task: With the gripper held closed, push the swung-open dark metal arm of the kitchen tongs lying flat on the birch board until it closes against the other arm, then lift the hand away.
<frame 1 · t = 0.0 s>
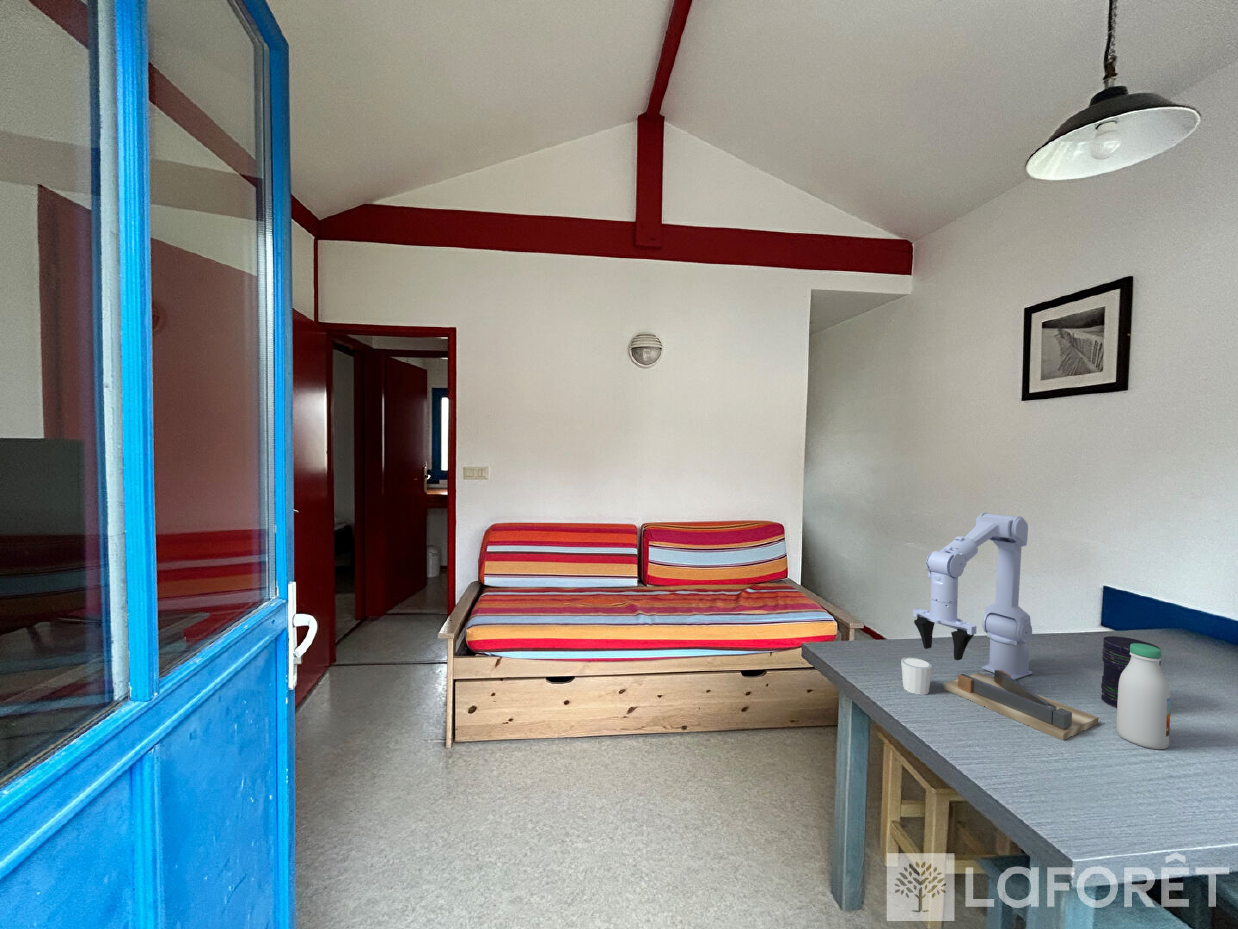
hand: (942, 653, 127), 10 cm above the table, tool pointing down, fingers open, 7 cm apart
storage jar: (1128, 706, 122), on the table
board: (1015, 705, 121), on the table
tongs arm: (1024, 693, 121), point 3 cm above the table, hinge at -30.0°
white cup: (915, 690, 129), on the table
milk bottle: (1141, 740, 107), on the table
tongs fixed arm: (1050, 726, 112), resting on board
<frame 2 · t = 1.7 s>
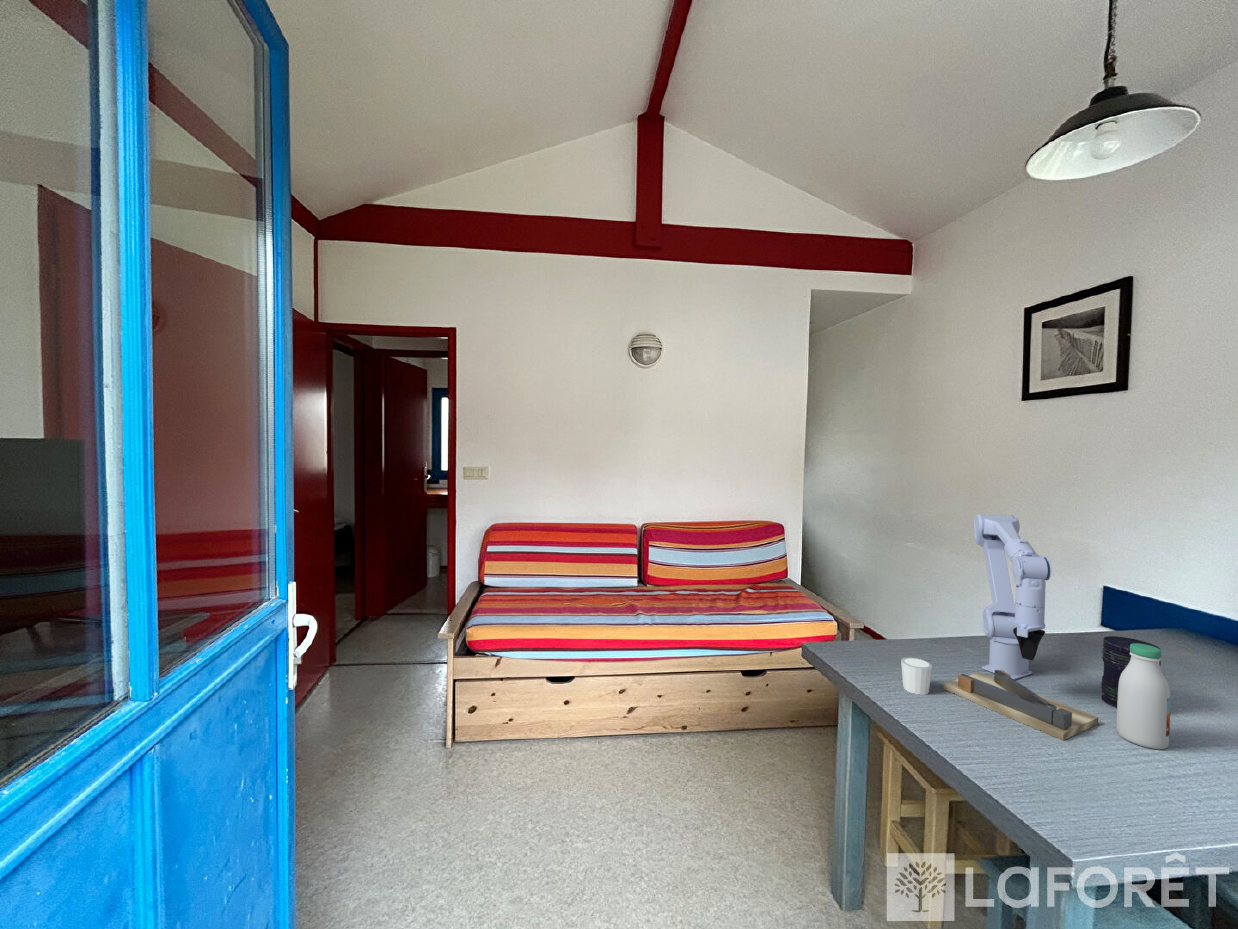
hand: (1028, 658, 126), 9 cm above the table, tool pointing down, fingers closed
nothing on the table moved.
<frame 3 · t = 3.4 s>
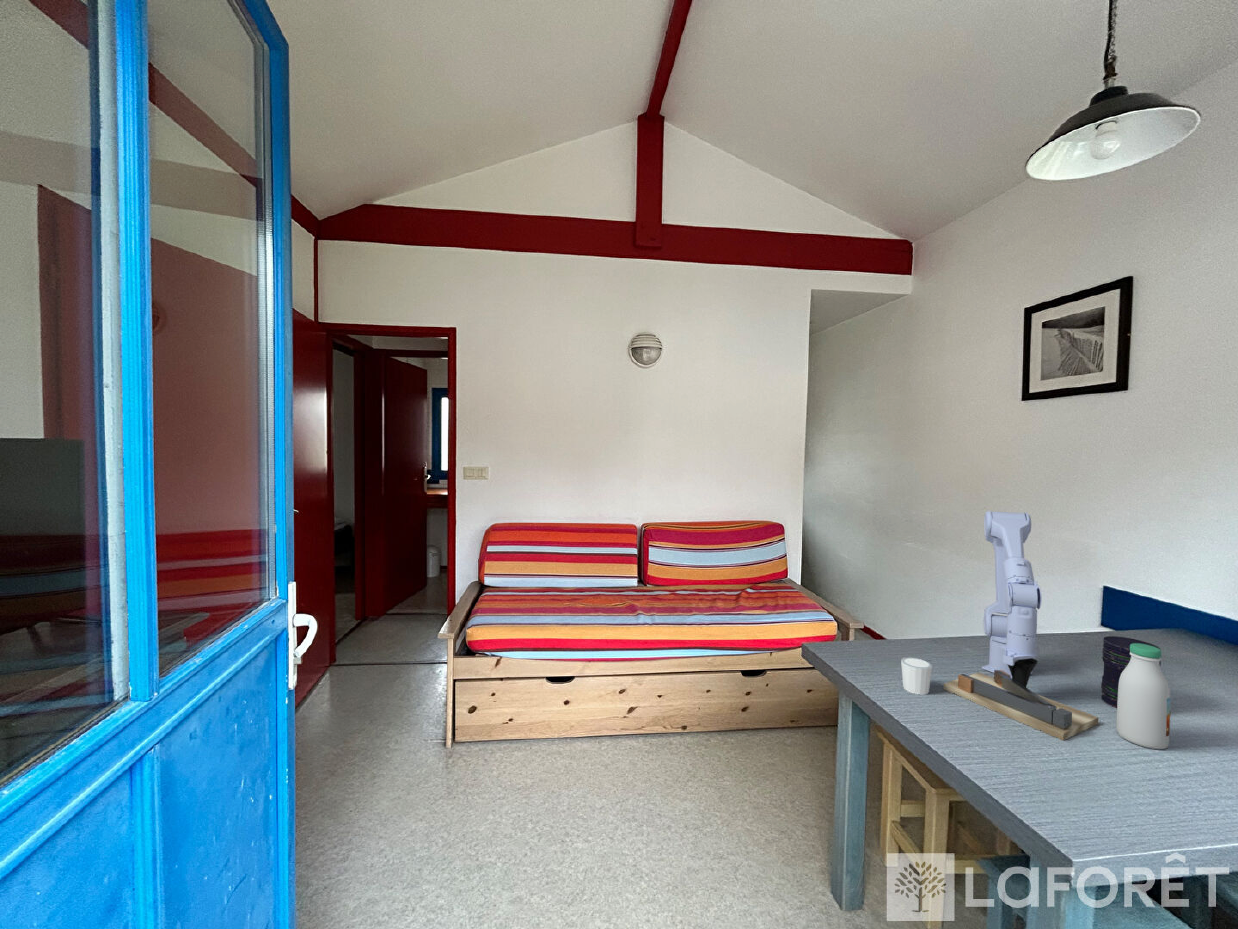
hand: (1019, 687, 125), 3 cm above the table, tool pointing down, fingers closed
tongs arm: (1024, 693, 121), point 3 cm above the table, hinge at -29.8°, touching gripper
everything else where it was.
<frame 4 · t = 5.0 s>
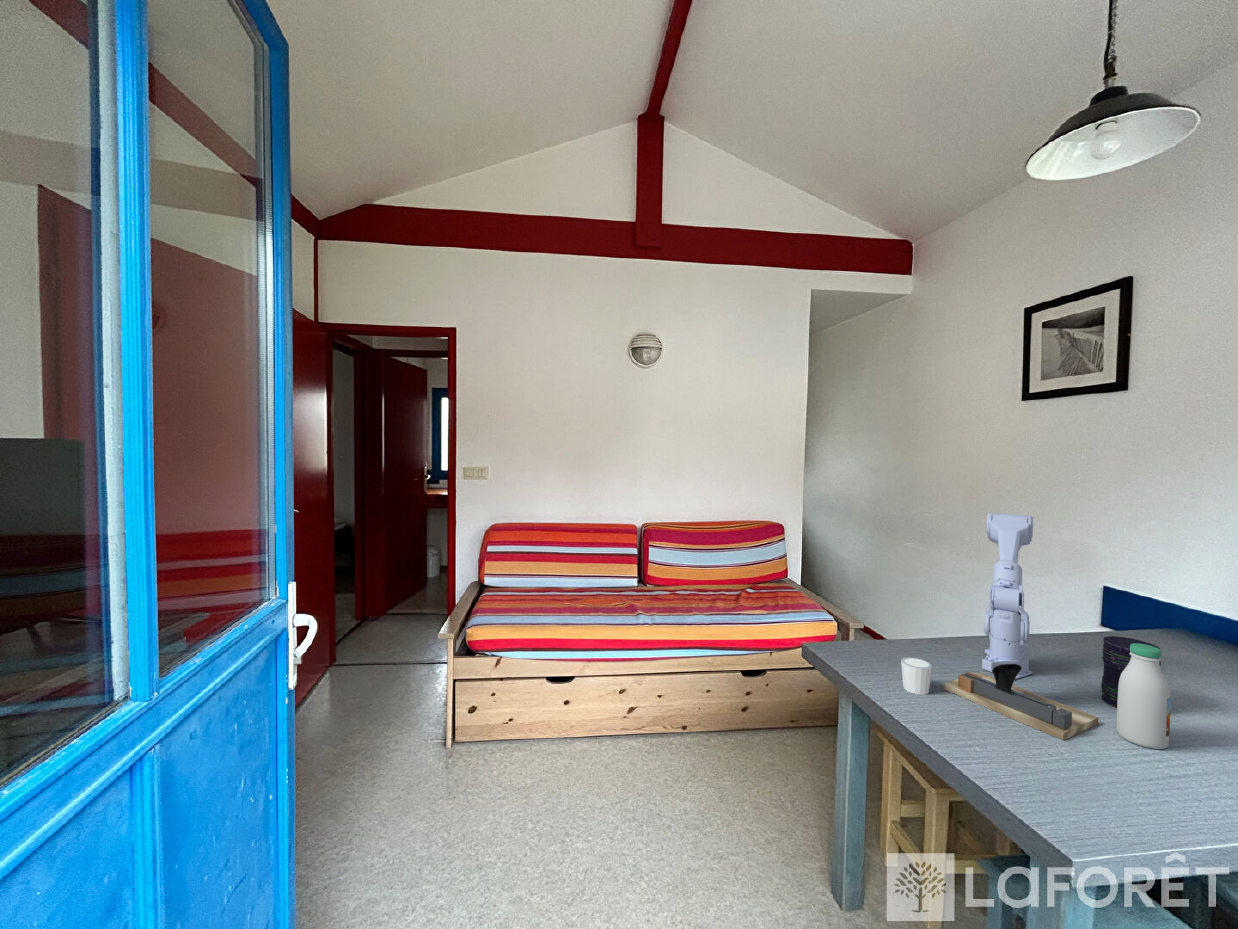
hand: (1003, 692, 122), 3 cm above the table, tool pointing down, fingers closed
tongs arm: (1008, 695, 120), point 3 cm above the table, hinge at 0.1°, touching gripper
everything else where it was.
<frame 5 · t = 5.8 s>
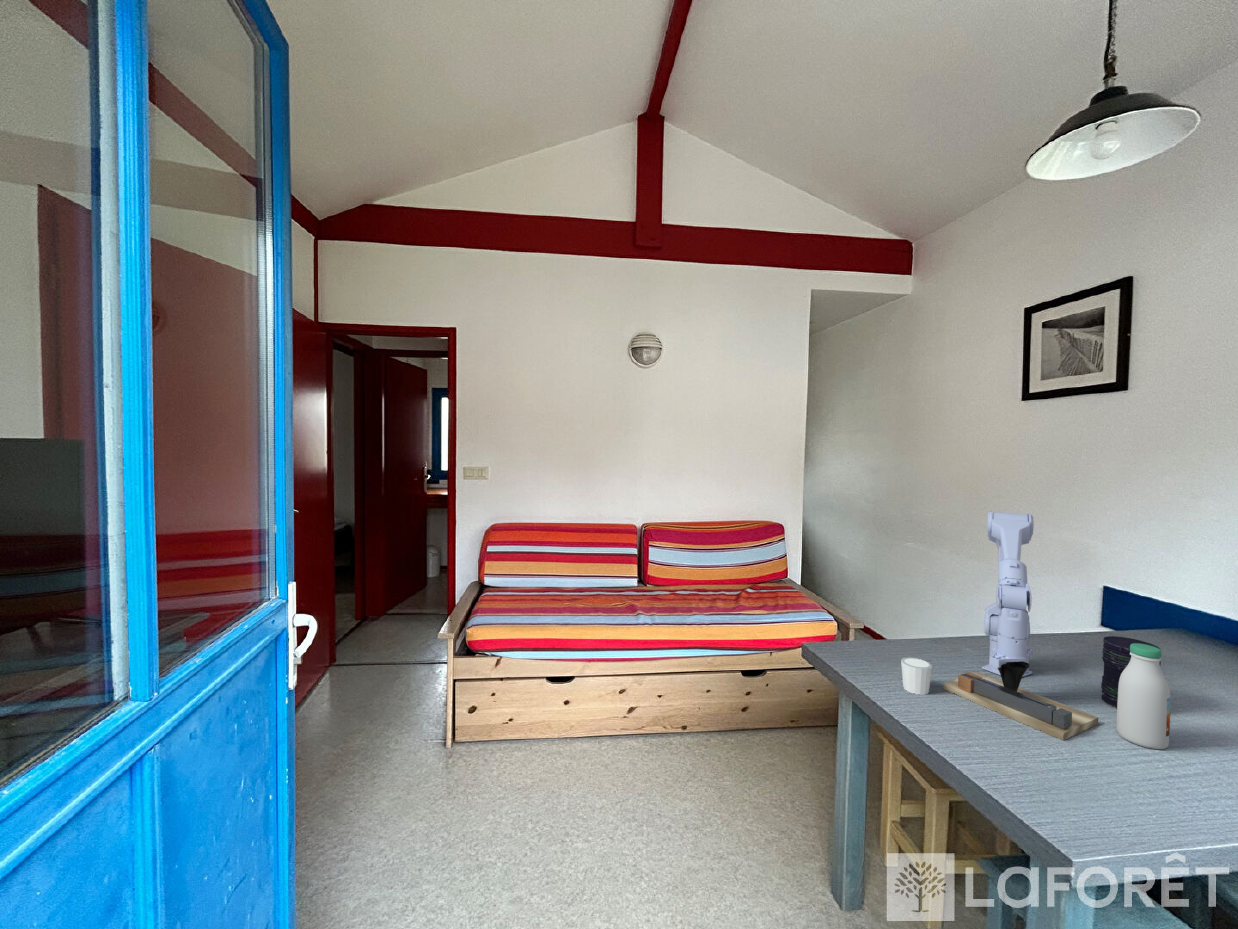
hand: (1010, 690, 123), 3 cm above the table, tool pointing down, fingers closed
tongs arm: (1008, 695, 120), point 3 cm above the table, hinge at 0.1°
everything else where it was.
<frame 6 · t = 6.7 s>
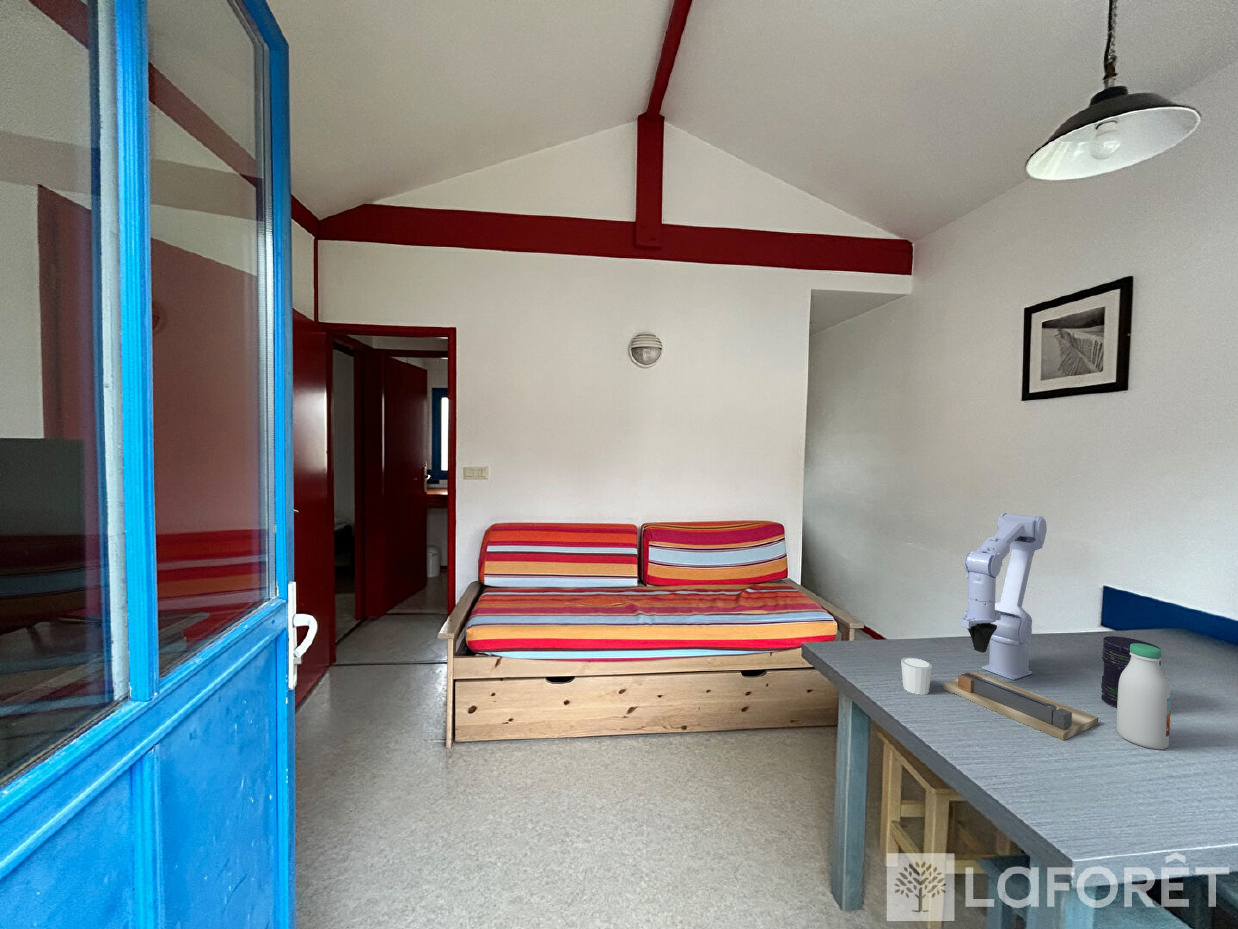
hand: (980, 651, 131), 9 cm above the table, tool pointing down, fingers closed
nothing on the table moved.
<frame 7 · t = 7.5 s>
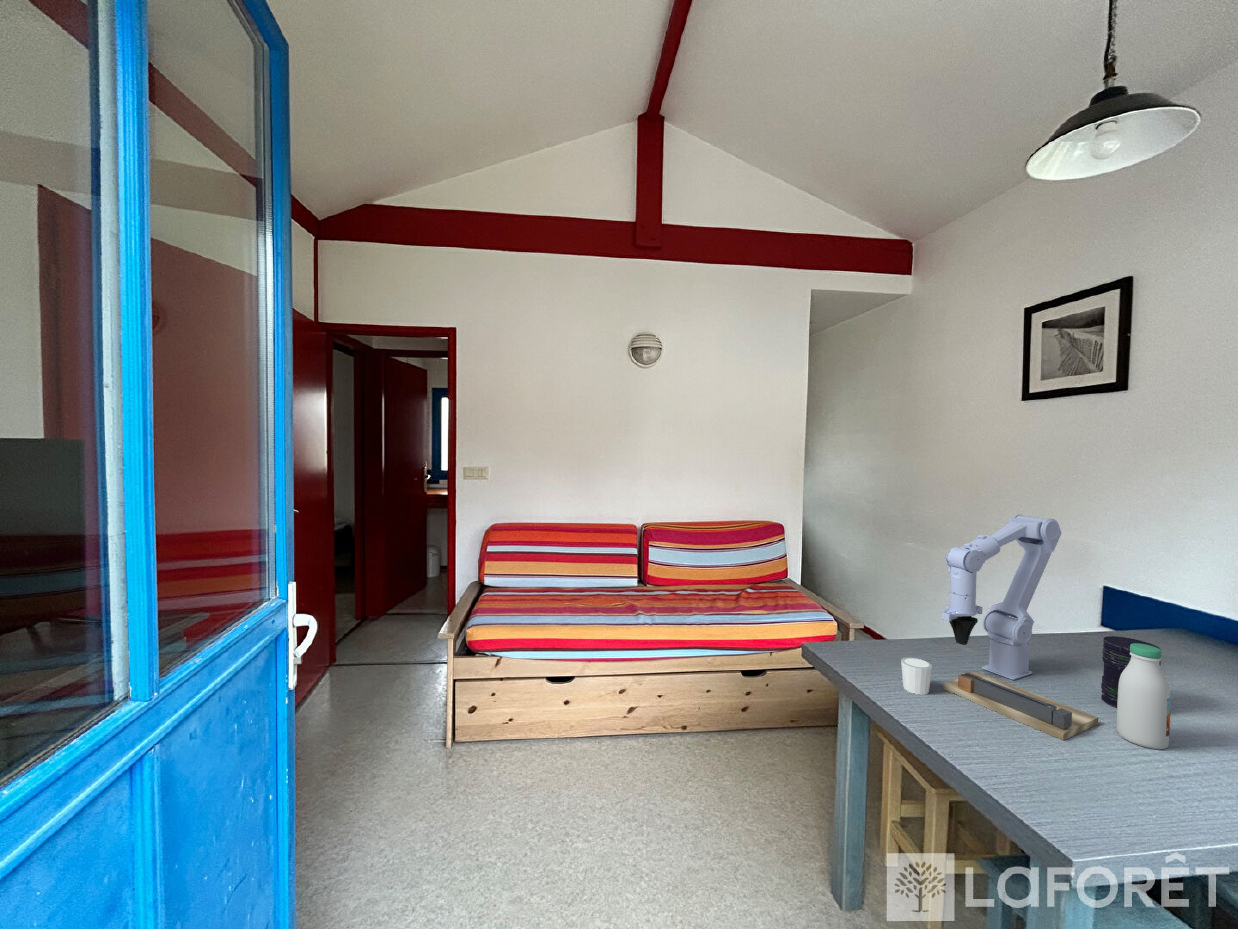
hand: (961, 643, 135), 9 cm above the table, tool pointing down, fingers closed
nothing on the table moved.
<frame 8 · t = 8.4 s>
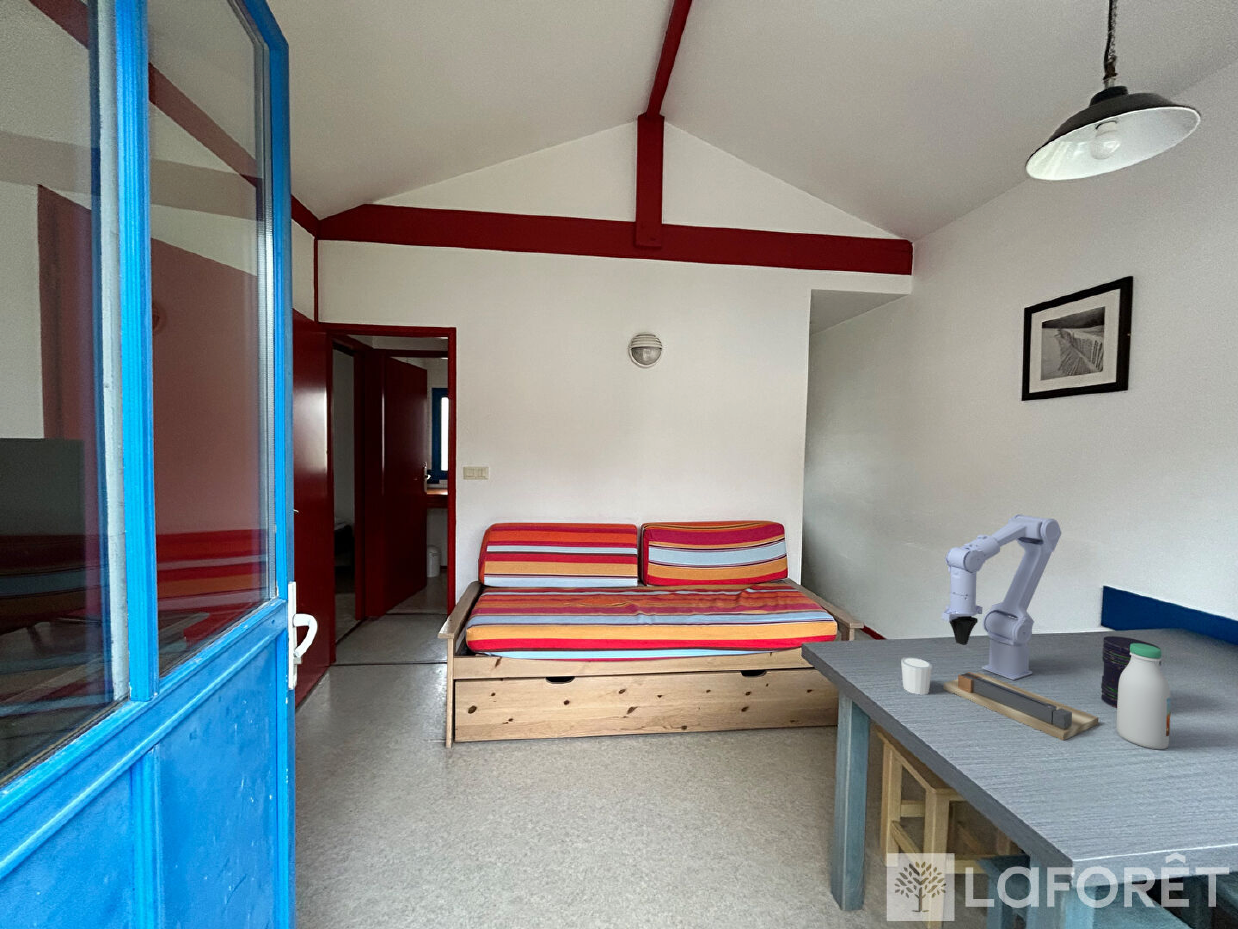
hand: (961, 643, 135), 9 cm above the table, tool pointing down, fingers closed
nothing on the table moved.
at the end: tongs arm at +0° (first picture: -30°); milk bottle moved 0.2 cm from its start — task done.
